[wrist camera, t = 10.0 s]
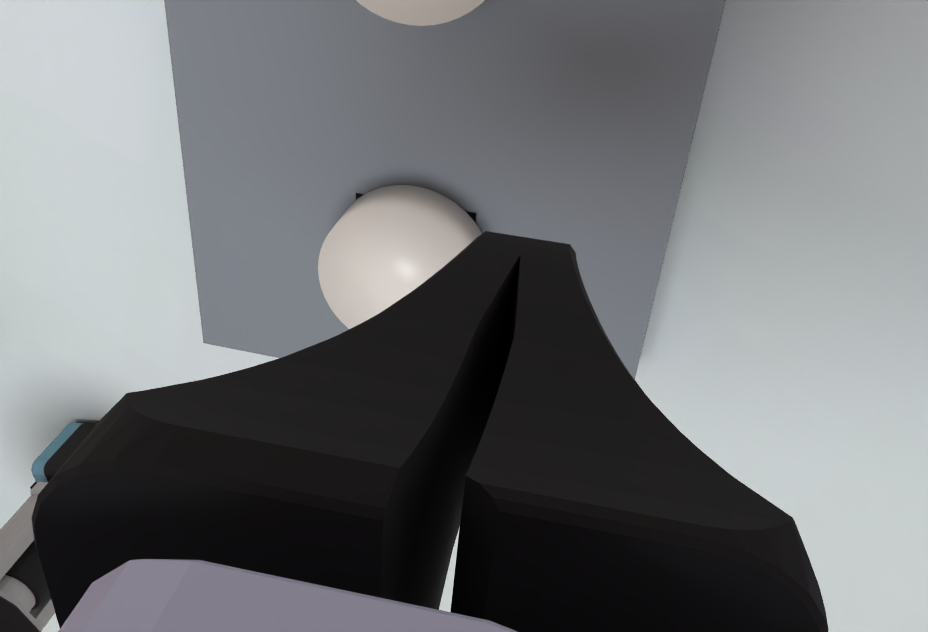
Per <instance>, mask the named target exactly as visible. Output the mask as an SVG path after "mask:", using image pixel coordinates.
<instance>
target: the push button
mask: <svg viewBox="0 0 928 632" xmlns="http://www.w3.org/2000/svg"><path fill="white" fill-rule="evenodd" d="M96 425H97V424H91V423H70V424H68V425H67V426H66V427H65V428H64V429H63V431H62V432H61V433H60V434H59V435H58V437H57V438H56V439H55V440H54V441H53V442H52V443H51V444H50V445H49V446H48V447H47V448H46V449H45V450H44V451H43V452H42V454H41V455H40V456H39V457H38V458H37V459H36V460H35V461H34V463H33V465H32V474H33V476H34V478H35V480H36V482H35V483H34V484H33V485H32V486H31V487H30V488H31V491H30V492H31V496H30V497H29V499H28V500H27V501H26V502H25V503H24V504H23V505H22V506H21V507H20V509H19V510H18V511H17V512H16V513H15V514H14V515H13V516H12V517H11V519H10V520H9V521H8V522H7V523H6V524H5V525H4V526H3V527H2V529H1V530H0V632H41V631H42V629H43V628H44V627H45V625H46V624H47V623H48V621H49V620H50V619H51V617H52V616H53V615H54V613H55V610H54V607H53V603H52V600H51V596H50V593H49V590H48V586H47V583H46V580H45V576H44V573H43V570H42V566H41V563H40V560H39V556H38V553H37V550H36V546H35V542H34V534H33V526H32V518H31V517H32V514H33V510H34V507H35V503H36V500H37V496H38V494H39V493H40V492H41V491H42V489H43V488H44V487H45V486H46V485H47V483H48V482H49V481H50V480H51V479H52V477H53V476H54V475H55V474H56V473H57V471H58V470H59V469H60V468H61V467H62V465H63V464H64V463H65V462H66V461H67V459H68V458H69V457H70V456H71V455H72V453H73V452H74V451H75V450H76V449H77V447H78V446H79V445H80V444H81V443H82V442H83V440H84V439H85V438H86V437H87V435H88V434H89V433H90V432H91V431H92V429H93V428H94V427H95V426H96Z"/></svg>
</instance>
